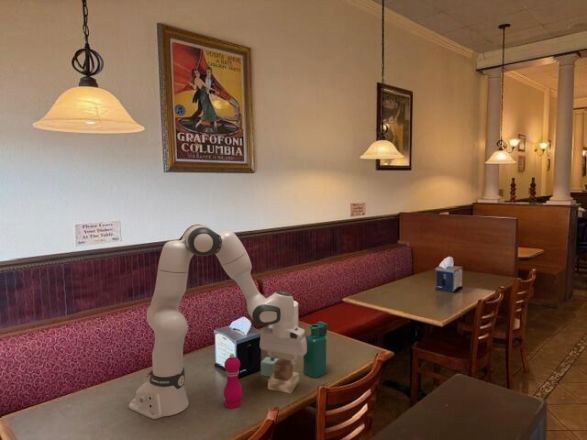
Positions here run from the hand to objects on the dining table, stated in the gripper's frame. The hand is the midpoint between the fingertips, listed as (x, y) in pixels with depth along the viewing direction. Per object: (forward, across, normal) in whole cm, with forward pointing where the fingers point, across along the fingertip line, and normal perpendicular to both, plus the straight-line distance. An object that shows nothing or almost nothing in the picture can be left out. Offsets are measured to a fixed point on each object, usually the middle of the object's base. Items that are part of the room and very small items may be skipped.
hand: (282, 362), depth 172 cm
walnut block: (+6, 0, 0) cm, 6 cm away
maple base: (+10, 0, +1) cm, 10 cm away
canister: (+10, -19, +46) cm, 51 cm away
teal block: (+10, -10, +9) cm, 16 cm away
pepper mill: (+11, -12, -19) cm, 26 cm away
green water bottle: (+10, +9, +17) cm, 22 cm away
